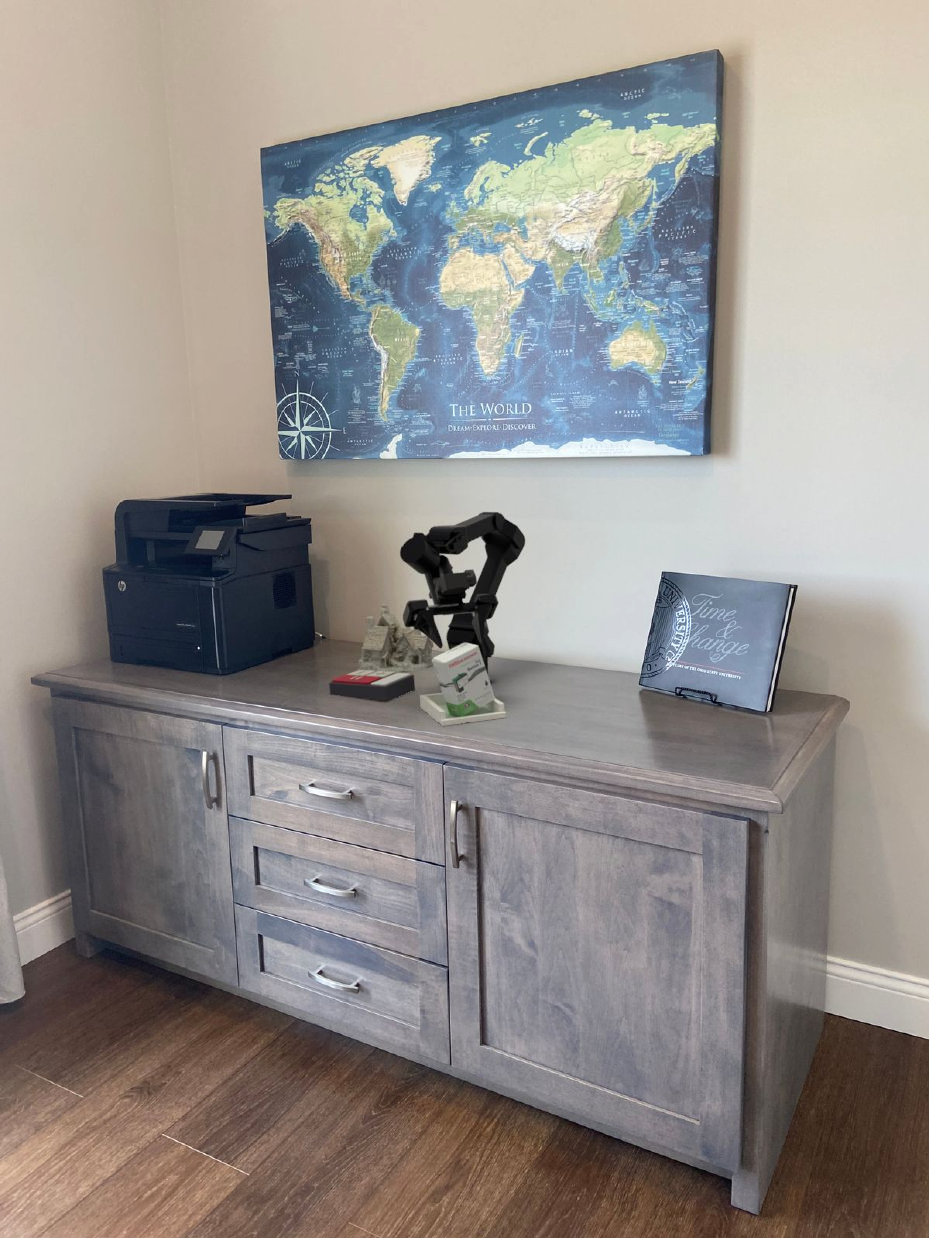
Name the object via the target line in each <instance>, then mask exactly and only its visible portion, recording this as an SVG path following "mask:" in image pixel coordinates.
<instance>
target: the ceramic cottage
mask: <svg viewBox="0 0 929 1238" xmlns="http://www.w3.org/2000/svg"><path fill="white" fill-rule="evenodd" d="M434 646H435V645H434V642H433V641H432V640H431V639H430V638H429V637H427V636H426V635H425V634H424V635H422V632H421V631H420V630H415V629H414V627H412V629H411V627H406V626H401V623H400V622H399V620H398V619H396V616H395V614H394V613H393V612H390V609H389V607H388V604H387V603H382V604H381V609H380V618H379V620H378V622H377V624H376V620H375V618H374V616H372V615H371V616H370V615H369V616H367V617H366V623H365V628H364V641H363V644H362V647H361V657H360V659H358V665H357V670H371V671H376V672H377V671H389V672H395V673H400V672H399V671H404V672H414V671H413V670H415V671H421V669H423V670H425V669H424V668H426V669H428V668H430V667H432V666H433V663H432V659H433V658H432V652H433V648H434ZM427 667H428V668H427Z"/></svg>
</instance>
